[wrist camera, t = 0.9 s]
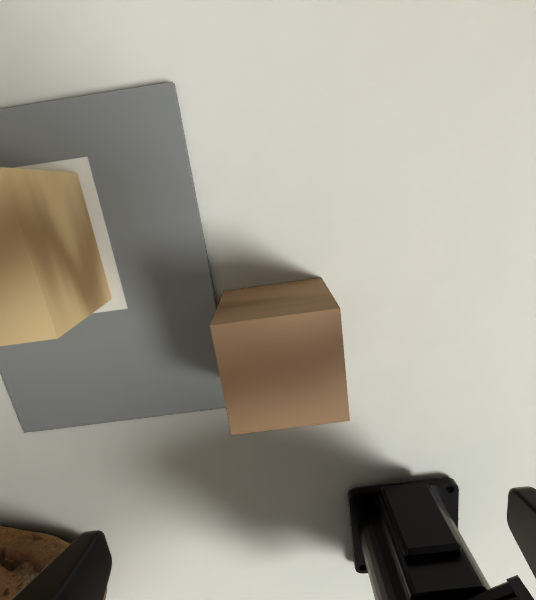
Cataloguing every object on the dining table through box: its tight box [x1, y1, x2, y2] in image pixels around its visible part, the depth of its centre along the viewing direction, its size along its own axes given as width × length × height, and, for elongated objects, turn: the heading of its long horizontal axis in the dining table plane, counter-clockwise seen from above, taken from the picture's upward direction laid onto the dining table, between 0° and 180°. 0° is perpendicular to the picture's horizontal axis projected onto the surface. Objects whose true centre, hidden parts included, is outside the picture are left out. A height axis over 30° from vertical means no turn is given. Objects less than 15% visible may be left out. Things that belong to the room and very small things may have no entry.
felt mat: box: [0, 82, 226, 433], centre depth 18 cm, size 16×12×1 cm
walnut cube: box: [210, 278, 350, 435], centre depth 17 cm, size 5×5×5 cm
